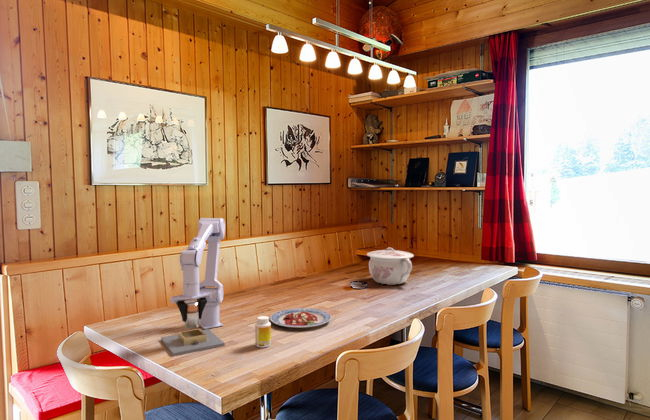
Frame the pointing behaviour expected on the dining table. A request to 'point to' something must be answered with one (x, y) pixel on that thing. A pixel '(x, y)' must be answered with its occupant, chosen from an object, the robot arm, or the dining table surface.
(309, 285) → the dining table surface
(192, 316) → the silver tin
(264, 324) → the supplement bottle
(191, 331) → the square hollow frame
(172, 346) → the socket base
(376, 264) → the chamber pot
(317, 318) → the ceramic plate
